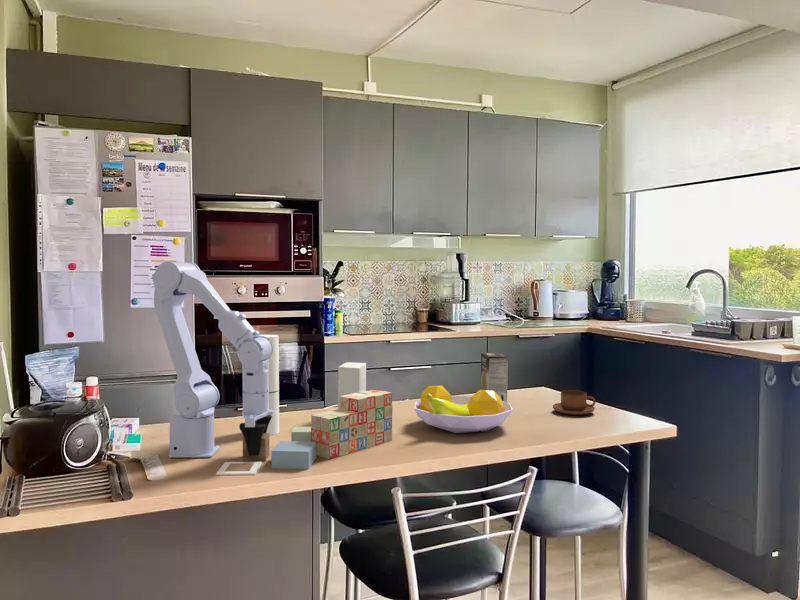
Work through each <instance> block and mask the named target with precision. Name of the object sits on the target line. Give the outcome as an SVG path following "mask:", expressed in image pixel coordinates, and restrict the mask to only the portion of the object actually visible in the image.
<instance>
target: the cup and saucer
mask: <svg viewBox="0 0 800 600" xmlns="http://www.w3.org/2000/svg"><path fill="white" fill-rule="evenodd" d="M587 395H588V394H587V392H585V391H582V390H575V389H574V390H573V389H572V390H571V389H570V390H568V389H567V390H562V391H560V402H558V403H553V405H552V408H553V410H555V412H557V413H561V414H564V415H568V416H583V415H584V416H585V415H590V414H592V413H593V412H594V411H595V410H596V409H595V407H594V406H595V404H596V403H597V401H596V399H595V398H594V397H593V396H591V395H589V396H587ZM587 400H592V403H591V404H590V403H587Z"/></svg>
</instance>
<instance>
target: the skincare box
mask: <svg viewBox="0 0 800 600" xmlns="http://www.w3.org/2000/svg"><path fill="white" fill-rule="evenodd" d="M337 369H338V370H337V372H338V373H337V409H339V404H340V396H343V395H349V394H353V393H357V392H361V391H367V362H353V361H352V362H351V361H349V362H344V363H343V364H341V365H339V366H338V367H337Z"/></svg>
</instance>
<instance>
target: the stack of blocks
mask: <svg viewBox="0 0 800 600" xmlns="http://www.w3.org/2000/svg"><path fill="white" fill-rule="evenodd" d="M310 419H311V420H310V421H311V423H310V427H311V442H316V457H320V458H324V459H326V460H331V459H334V458H338V457H341V456H345V455H348V454H352V453H355V452H358V451H362V450H365V449H369V448H373V447H375V446H379V445H383V444H386V443H389V442H392V441H393V393H392V391H390V392H389V391H385V390H378V389H371V390H366V391H361V392H357V393H353V394H349V395H343V396H340V404H339V409H338V408H337V409H333V410H327V411H323V412H318V413H315V414H311V417H310Z"/></svg>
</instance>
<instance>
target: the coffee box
mask: <svg viewBox="0 0 800 600" xmlns="http://www.w3.org/2000/svg"><path fill="white" fill-rule="evenodd" d="M480 355H481V356H480V390H491V391H495V392H496V393H497V394H498V395H499V396H500V397H501V399H502V401H503V402H507V403H508V381H509V379H508V376H509V373H508V372H509V371H508V370H509V369H508V368H509V364H508V363H509V358H508V356H507V355H505V354H503V353H502V352H485V351H484V352H480Z"/></svg>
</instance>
